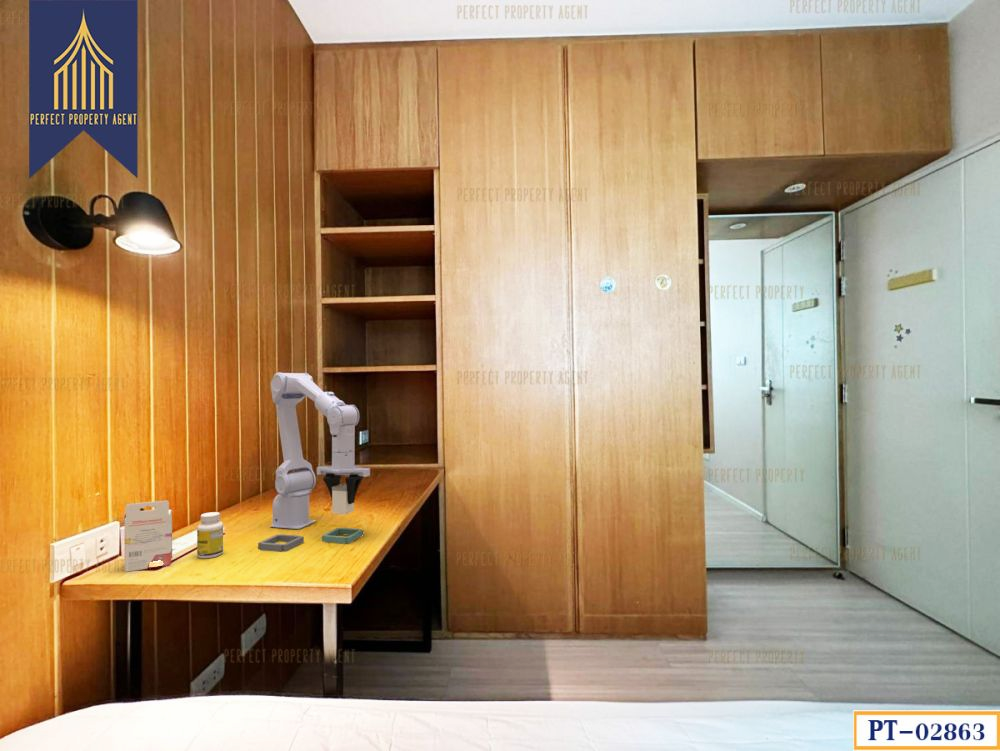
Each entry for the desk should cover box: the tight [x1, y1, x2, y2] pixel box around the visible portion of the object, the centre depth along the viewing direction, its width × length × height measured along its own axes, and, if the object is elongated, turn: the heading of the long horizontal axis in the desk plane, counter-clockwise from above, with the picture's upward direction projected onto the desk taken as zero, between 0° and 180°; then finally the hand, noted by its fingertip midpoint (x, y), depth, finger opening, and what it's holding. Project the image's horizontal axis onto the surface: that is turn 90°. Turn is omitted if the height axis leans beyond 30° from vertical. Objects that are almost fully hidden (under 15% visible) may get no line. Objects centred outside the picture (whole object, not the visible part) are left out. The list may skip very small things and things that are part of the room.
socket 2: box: [321, 527, 365, 544], centre depth 134 cm, size 8×8×2 cm
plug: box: [331, 483, 355, 515], centre depth 134 cm, size 4×4×7 cm
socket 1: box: [257, 533, 305, 552], centre depth 128 cm, size 8×8×2 cm
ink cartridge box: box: [123, 500, 173, 573], centre depth 115 cm, size 9×5×15 cm, turn 118°
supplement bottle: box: [196, 511, 224, 559], centre depth 121 cm, size 5×5×10 cm
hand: (343, 502), depth 134 cm, fingers closed on plug, 4 cm apart
